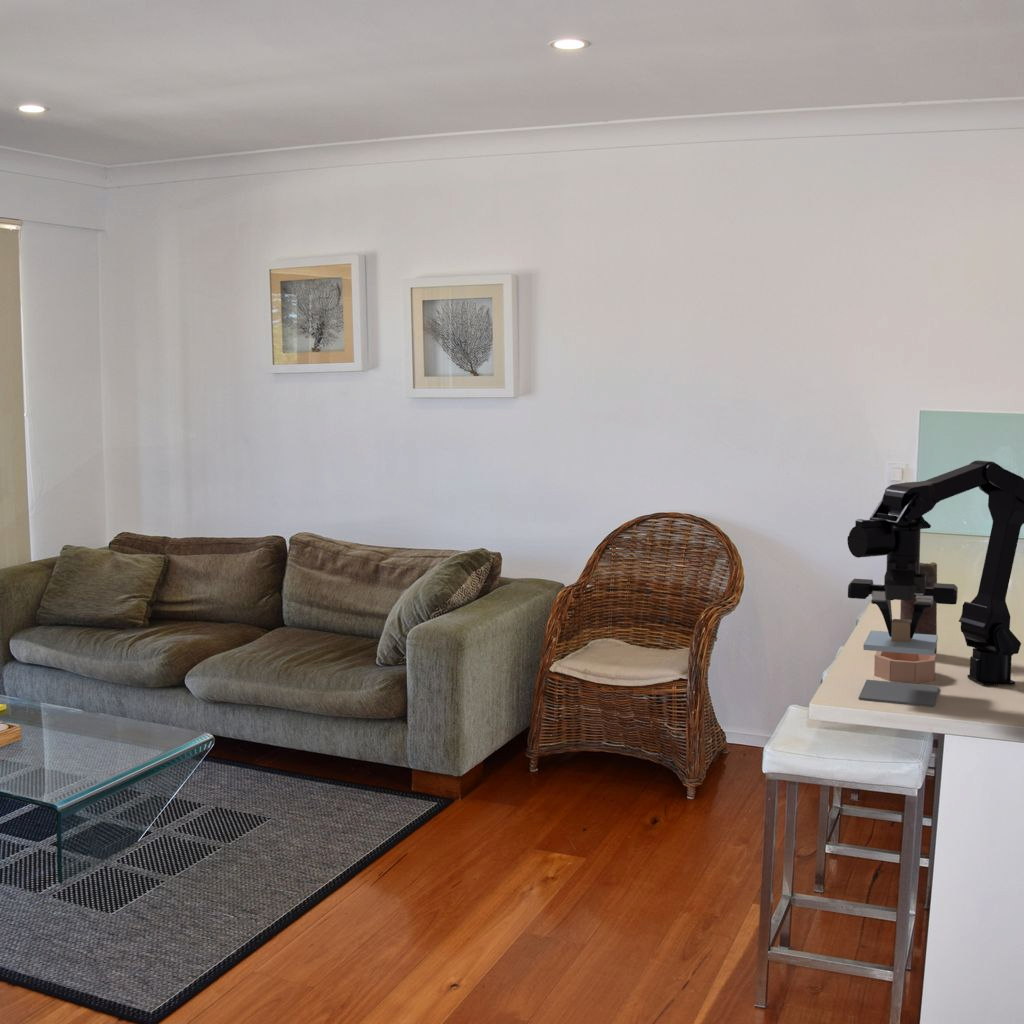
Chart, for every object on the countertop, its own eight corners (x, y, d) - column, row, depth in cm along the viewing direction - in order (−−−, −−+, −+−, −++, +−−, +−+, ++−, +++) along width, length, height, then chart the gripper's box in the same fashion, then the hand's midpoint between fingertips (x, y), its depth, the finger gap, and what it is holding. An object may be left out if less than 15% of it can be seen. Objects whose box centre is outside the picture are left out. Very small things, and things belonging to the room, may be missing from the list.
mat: (866, 681, 215) (866, 679, 215) (938, 688, 210) (938, 686, 210) (858, 699, 203) (858, 697, 203) (934, 707, 198) (934, 704, 198)
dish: (878, 665, 226) (878, 646, 226) (936, 670, 222) (936, 651, 221) (872, 679, 216) (873, 659, 216) (932, 684, 212) (933, 664, 211)
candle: (891, 652, 237) (893, 559, 235) (919, 648, 240) (921, 557, 237) (915, 660, 230) (918, 565, 228) (944, 656, 233) (947, 562, 230)
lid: (870, 635, 213) (871, 612, 213) (937, 640, 208) (938, 616, 208) (863, 649, 202) (863, 625, 202) (933, 655, 197) (934, 630, 197)
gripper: (844, 558, 200) (843, 643, 202) (956, 563, 192) (953, 651, 194) (852, 548, 210) (850, 629, 212) (958, 553, 202) (956, 637, 204)
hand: (901, 637), depth 205 cm, fingers closed on lid, 3 cm apart
